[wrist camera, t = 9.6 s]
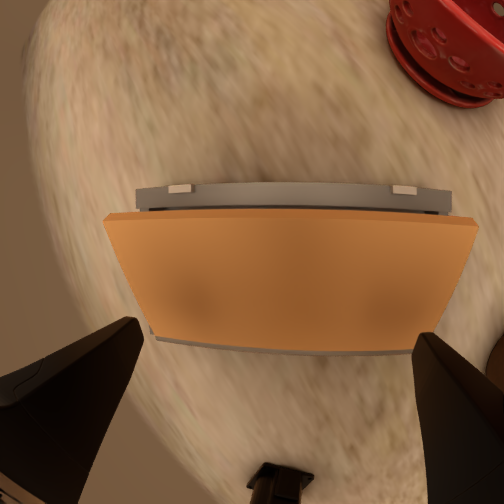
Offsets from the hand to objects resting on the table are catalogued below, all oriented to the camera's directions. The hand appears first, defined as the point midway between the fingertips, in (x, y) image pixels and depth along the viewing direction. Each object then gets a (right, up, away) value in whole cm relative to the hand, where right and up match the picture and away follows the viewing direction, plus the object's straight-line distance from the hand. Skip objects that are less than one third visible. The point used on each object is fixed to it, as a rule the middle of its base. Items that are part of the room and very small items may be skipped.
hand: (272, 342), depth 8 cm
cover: (+1, 0, +8) cm, 8 cm away
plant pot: (+16, +20, +8) cm, 27 cm away
